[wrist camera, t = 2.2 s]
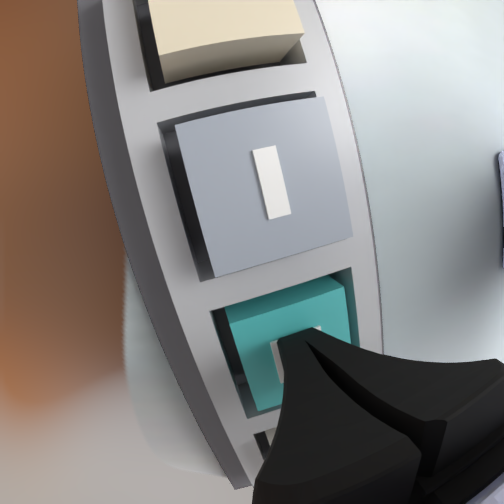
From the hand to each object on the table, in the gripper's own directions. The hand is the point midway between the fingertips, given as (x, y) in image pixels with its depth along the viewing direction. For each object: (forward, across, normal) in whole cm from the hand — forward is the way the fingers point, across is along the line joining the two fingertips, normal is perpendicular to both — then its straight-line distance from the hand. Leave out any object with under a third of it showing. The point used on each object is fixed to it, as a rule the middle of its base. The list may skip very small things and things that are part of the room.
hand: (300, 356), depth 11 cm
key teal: (+3, 0, 0) cm, 3 cm away
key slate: (+1, 0, -6) cm, 6 cm away
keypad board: (+3, 0, -3) cm, 5 cm away
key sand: (+2, 0, -12) cm, 12 cm away
